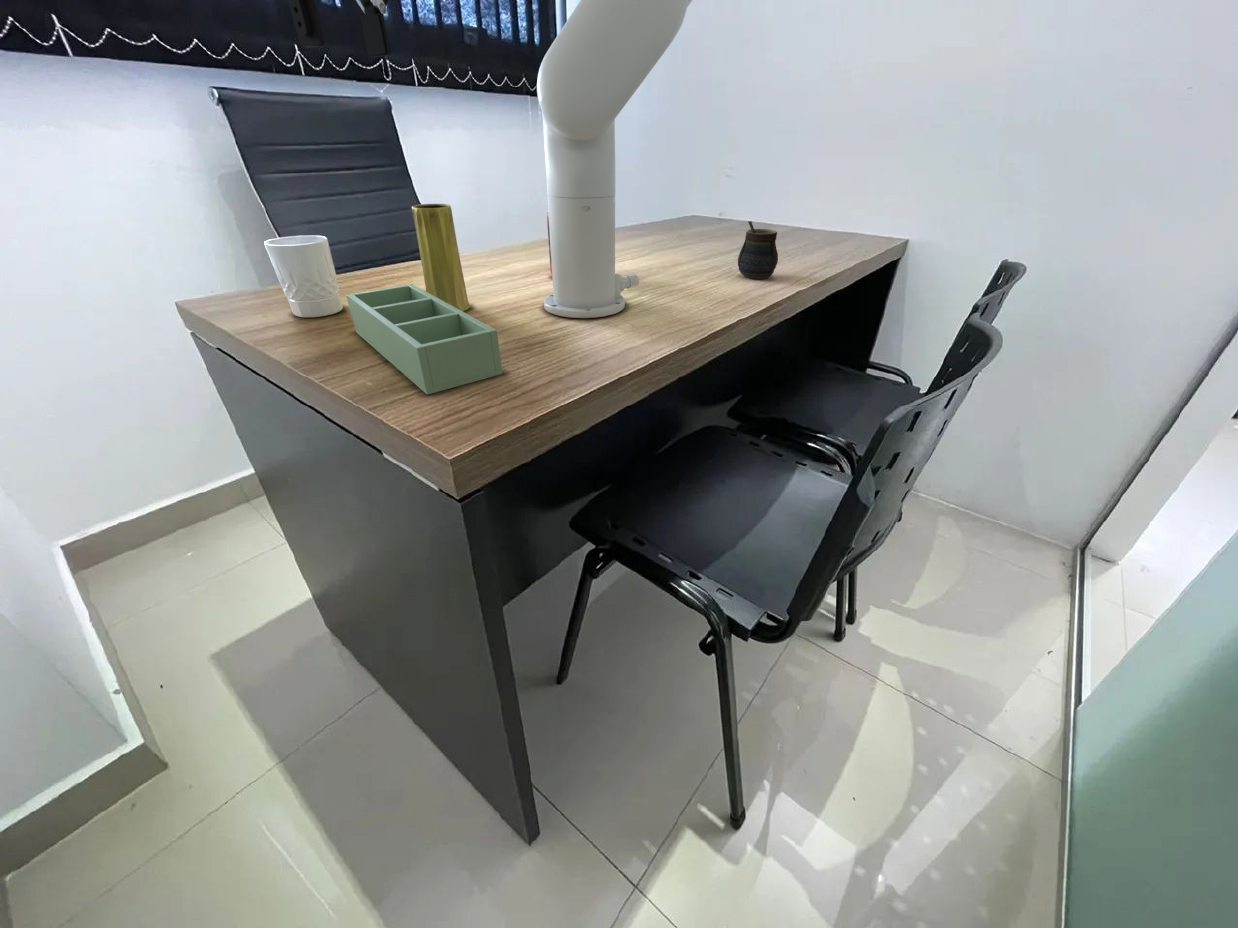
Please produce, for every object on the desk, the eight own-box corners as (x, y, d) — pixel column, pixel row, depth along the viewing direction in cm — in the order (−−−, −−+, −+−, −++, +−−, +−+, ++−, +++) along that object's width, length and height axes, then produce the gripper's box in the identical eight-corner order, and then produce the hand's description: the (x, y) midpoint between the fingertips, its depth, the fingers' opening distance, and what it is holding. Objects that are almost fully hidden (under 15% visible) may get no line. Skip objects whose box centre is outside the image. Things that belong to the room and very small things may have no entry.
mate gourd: (782, 276, 97) (792, 219, 92) (762, 284, 93) (772, 223, 87) (748, 270, 101) (756, 215, 96) (728, 277, 96) (735, 219, 91)
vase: (470, 313, 77) (454, 208, 69) (428, 316, 76) (406, 209, 68) (468, 302, 82) (453, 202, 74) (428, 305, 80) (408, 204, 73)
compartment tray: (420, 320, 74) (412, 284, 71) (502, 374, 58) (497, 330, 55) (356, 332, 69) (345, 294, 67) (427, 395, 53) (416, 348, 51)
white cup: (324, 321, 73) (300, 246, 68) (276, 317, 75) (249, 244, 69) (358, 305, 80) (339, 236, 74) (313, 302, 81) (292, 234, 76)
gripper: (239, -217, 44) (306, 40, 53) (391, -138, 57) (424, 57, 66) (186, -198, 46) (259, 44, 56) (343, -126, 60) (380, 60, 69)
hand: (348, 51), depth 61 cm, fingers open, 9 cm apart
